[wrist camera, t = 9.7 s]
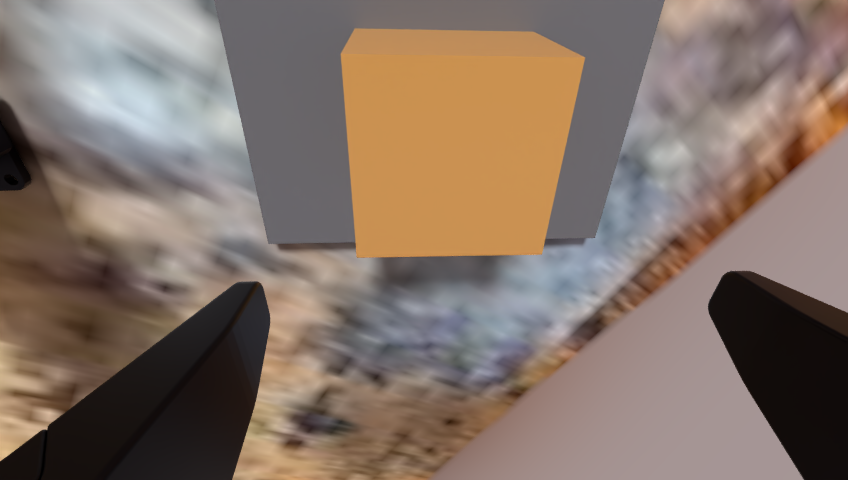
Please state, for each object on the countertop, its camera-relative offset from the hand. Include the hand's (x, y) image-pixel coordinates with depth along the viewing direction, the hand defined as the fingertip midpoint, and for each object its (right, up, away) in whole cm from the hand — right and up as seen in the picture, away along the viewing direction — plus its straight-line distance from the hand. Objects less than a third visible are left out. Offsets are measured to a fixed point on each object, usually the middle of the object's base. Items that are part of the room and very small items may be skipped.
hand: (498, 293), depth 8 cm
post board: (-1, +7, +10) cm, 12 cm away
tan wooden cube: (-1, +6, +9) cm, 11 cm away
